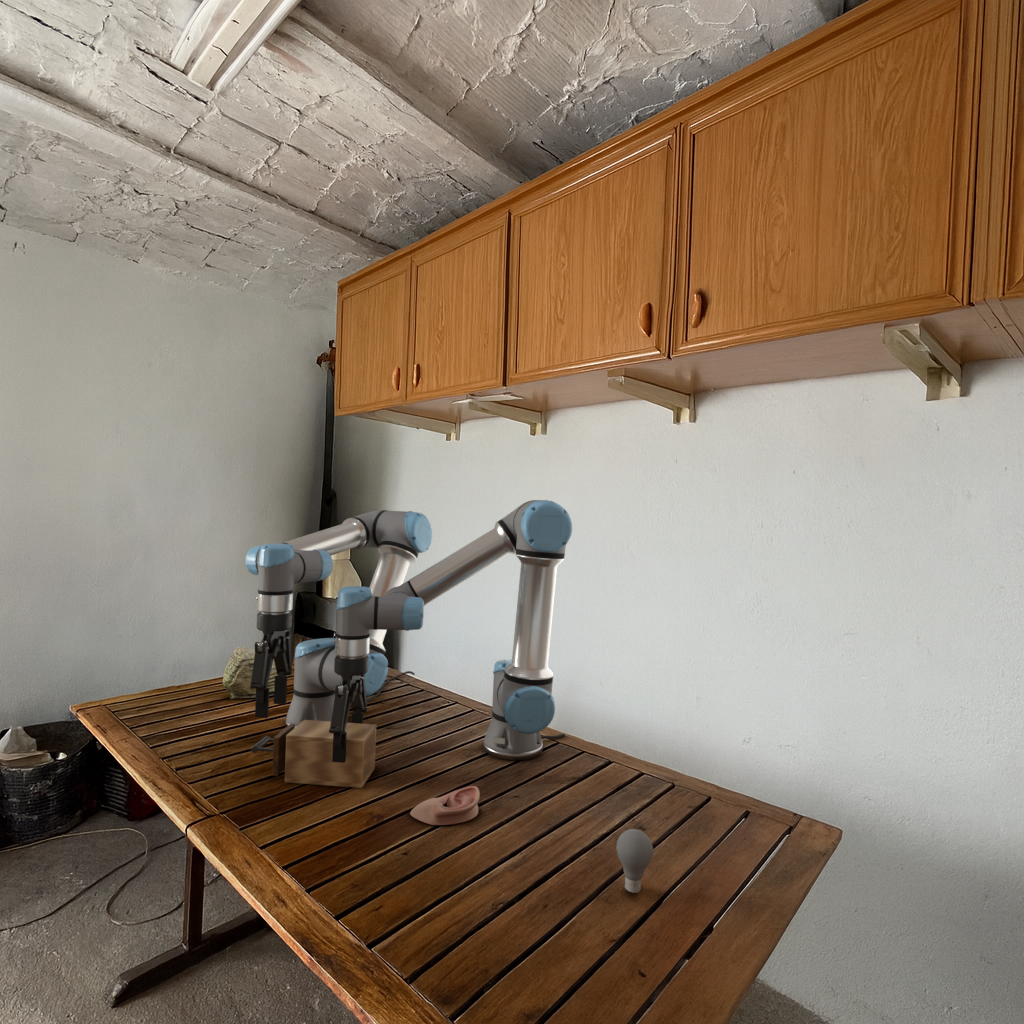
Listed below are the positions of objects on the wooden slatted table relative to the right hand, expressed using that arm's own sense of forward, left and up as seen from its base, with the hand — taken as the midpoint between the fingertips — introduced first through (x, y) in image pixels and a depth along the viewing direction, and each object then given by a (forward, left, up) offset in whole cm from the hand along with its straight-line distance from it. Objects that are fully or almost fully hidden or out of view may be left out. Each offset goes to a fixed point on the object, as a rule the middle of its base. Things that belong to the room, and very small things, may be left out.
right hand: (348, 750), depth 144 cm
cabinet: (+3, -2, -6) cm, 7 cm away
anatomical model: (-15, +24, -6) cm, 29 cm away
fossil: (+15, -68, -6) cm, 70 cm away
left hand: (+16, -9, +8) cm, 20 cm away
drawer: (+9, -5, -5) cm, 11 cm away
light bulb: (-36, +59, -6) cm, 69 cm away
